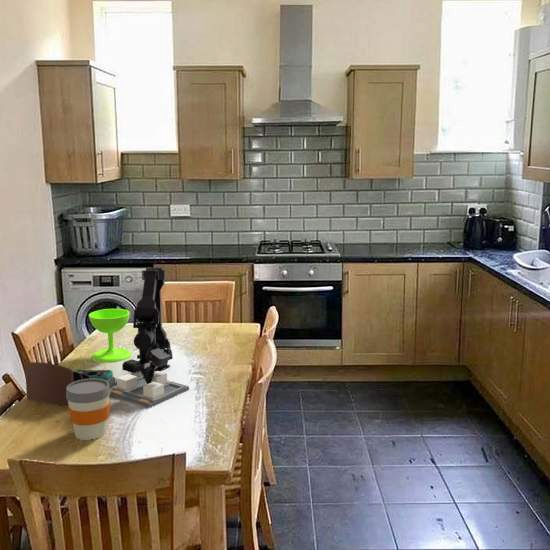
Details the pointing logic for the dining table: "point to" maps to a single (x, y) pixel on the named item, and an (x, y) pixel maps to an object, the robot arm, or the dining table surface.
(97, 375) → the digital multimeter
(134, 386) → the white block
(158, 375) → the cream block
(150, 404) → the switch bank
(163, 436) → the dining table surface
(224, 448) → the dining table surface
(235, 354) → the dining table surface
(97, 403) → the reusable coffee cup
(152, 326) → the robot arm
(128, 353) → the wineglass
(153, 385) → the cream square block
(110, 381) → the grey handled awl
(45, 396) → the letter holder
